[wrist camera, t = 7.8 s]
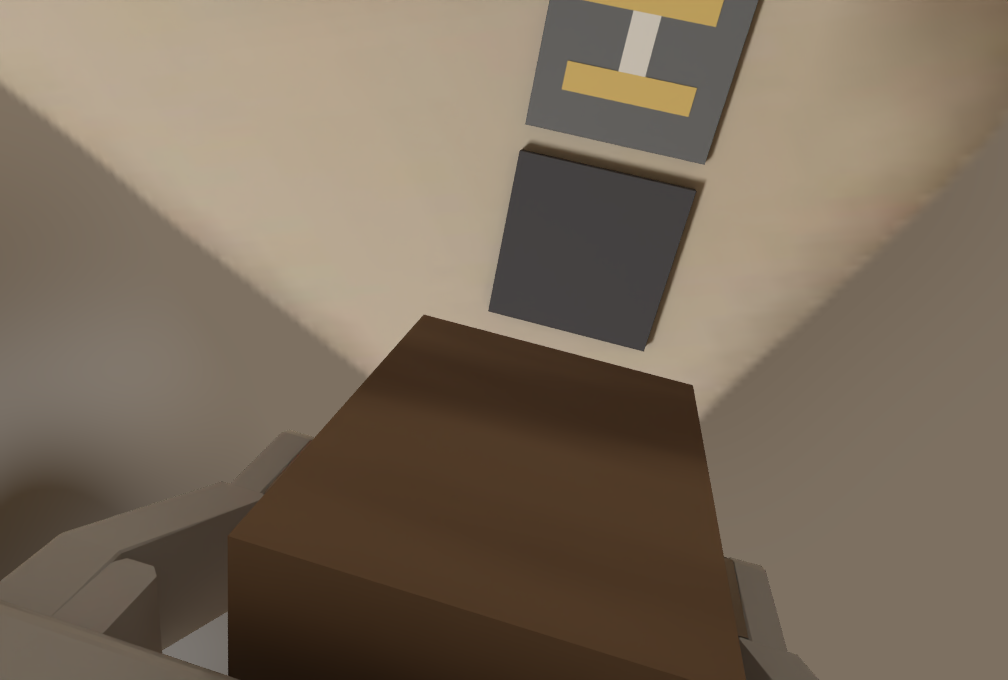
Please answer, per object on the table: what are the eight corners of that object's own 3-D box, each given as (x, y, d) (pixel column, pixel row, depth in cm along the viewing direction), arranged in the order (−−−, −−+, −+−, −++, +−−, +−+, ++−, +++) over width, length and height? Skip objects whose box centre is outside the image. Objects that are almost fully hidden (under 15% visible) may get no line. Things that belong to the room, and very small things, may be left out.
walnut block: (423, 315, 11) (228, 535, 6) (692, 385, 11) (748, 698, 5) (393, 519, 13) (229, 821, 8) (616, 586, 13) (602, 957, 7)
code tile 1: (568, -88, 21) (566, -90, 21) (773, -49, 20) (775, -51, 20) (526, 123, 24) (525, 124, 24) (703, 163, 23) (704, 164, 23)
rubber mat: (521, 149, 24) (519, 150, 24) (695, 189, 24) (696, 191, 23) (490, 307, 27) (488, 311, 27) (643, 347, 27) (643, 351, 26)
